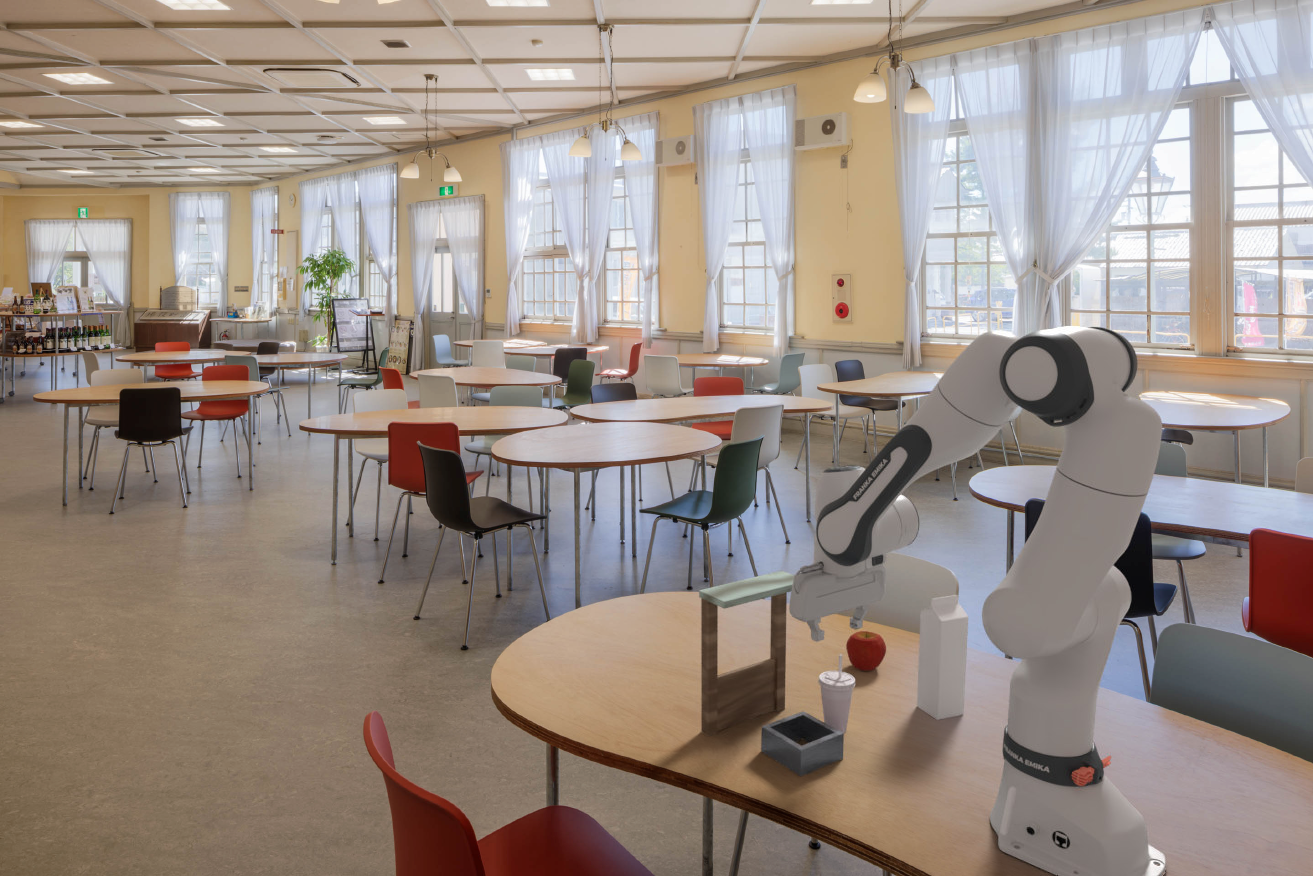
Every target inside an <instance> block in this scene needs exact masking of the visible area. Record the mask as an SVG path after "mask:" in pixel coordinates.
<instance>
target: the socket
mask: <svg viewBox="0 0 1313 876" xmlns="http://www.w3.org/2000/svg"><path fill="white" fill-rule="evenodd" d="M760 730H761V733H760V734H761V737H760V738H761V739H760V740H761V741H760V744H761V745H760V747H761V748H760V751H761V752H762V753H763V754H765V755H767V757H770V759H773V760H774V761H776V762H777V763H779V764H781V765H782V766H784V767H786V768H787V769H788V770H790V771H792V772H793V773H794V774H796V775H798V776H799V777H803V776H805V775H808V774H810V773H812V772H815V771H817V770H820V769H821V768H824V767H826V765H827V766H829V765H832V764H833V763H836V762H839V761H840V759H841V760H842V759H844V739H845V738H844V737H845V735H844V734H845V733H842V732H840V731H839V730H837V729H835V728H833V727H831V726H830V725H828V724H826V723H824V721H822V720H820V719H819V718H817V717H815V716H813V715H811V714H809V713H807V712H805V711H804V710H803V711H800V712H797V713H794V714H791V715H789V716H786V717H783V718H781V719H778V720H776V721H773V722H770V723H767V724H765V725H761V727H760ZM801 740H804V741H805V742H807V743H805V744H803V745H801V744H799V743H798V741H801Z"/></svg>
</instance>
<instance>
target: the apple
mask: <svg viewBox="0 0 1313 876" xmlns="http://www.w3.org/2000/svg"><path fill="white" fill-rule="evenodd" d="M845 647H846V649H845V650H846V653H847V655H848V656H847V657H848V659H849V662H850V664H851V665H852V667H854V669H857V670H859V671H861V672H862V671H863V672H870V671H873V670H875V669H876V668H878V667H879V666H880V665H881V663H882V662H883V660H884V658H885V656H886V653H887V646H886V643H885V640H884V638H883V637H882V635H880V634H878V633H875V632H874V631H873V632H872V631H867V630H860V631H856V632H855V633H853V634H852V635H850V636H849V638H848V640H847V641H846V645H845Z"/></svg>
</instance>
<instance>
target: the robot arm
mask: <svg viewBox="0 0 1313 876" xmlns="http://www.w3.org/2000/svg"><path fill="white" fill-rule="evenodd" d="M1136 353H1137V352H1136V351H1135V348H1134V347H1133V345H1132V344H1131V342H1130V341H1129V339H1127V338H1126V337H1125V336H1124V335H1122V334H1120V333H1118V332H1116V331H1114V330H1112V329H1109V328H1105V327H1100V326H1090V327H1084V326H1077V325H1067V326H1058V327H1054V328H1050V329H1039V330H1035V331H1032V332H1029V333H1027V334H1025V335H1024V336H1021V337H1019V336H1018V335H1015V334H1013V333H1011V332H1007V331H1003V330H991V331H989V330H988V331H986V332H983V333H982V334H980V335H979V336H977V337H976V338H975V339H974V340H973V341H971V343H970V344H968V345H967V347H965V348H964V350H962V351H961V353H960V354H959V355H958V356H957V357H956V358H955V360H954V361H952V363H951V364H950V365H949V367H948V368H947V369H946V370H945V372H944V373H943V374H942V376H941V377H940V379H939V380H938V381H937V384H935V386H934V387H933V388H932V390H931V392H930V393H929V394H928V396H927V397H926V398H925V400H924V401H923V402H922V403H921V405H920V406H919V407H918V409H917V410H916V411H915V412H914V413H913V414H912V416H911V417H910V418H909V419H908V420H907V421H906V422H905V424H904V425H903V426H902V427H901V428H900V429H899V431H898V432H897V433H895V434H894V436H893V437H892V438H891V439H890V440H889V441H888V442H886V444H885V446H883V448H882V449H881V450H880V451H879V452H878V454H877V455H876V456H874V458H873V460H872V461H871V462H870V463H869V464H868V466H867V467H866V468H865V467H863V466H861V465H851V464H850V465H843V466H835V467H829V468H826V469H824V470H823V471H822V472H821V473H820V476H819V478H818V480H817V483H816V492H815V501H814V503H815V504H814V518H815V522H816V525H815V534H814V538H813V563H812V564H810V565H803V566H800V568H799V570H798V571H797V572H796V573H795V574H794V575H795V576H794V581H793V584H792V590H791V592H790V596H789V597H790V598H789V605H788V606H789V608H788V610H789V614H790V616H791V617H792V618H794V619H796V620H797V621H800V622H803V623H806V624H807V626H808V628H809V629H810V639H811V640H812V641H814V642H817V643H818V642H820V641H824V640H825V630H823V629H821V628H820V626H819V624H821V623H822V620H821V619H822V618H825V617H828V616H832V615H834V614H835V615H836V614H838V613H842V612H844V611H849V610H852V609H854V613H853V615H852V616H851V617H849V628H851V629H853V630H855V631H856V630H859V629H863V624H864V623H863V621H864V619H865V616H866V614H867V612H868V611H869V605H870V604H874V603H877V602H879V601H882V600H883V598H884V596H885V594H886V588H887V587H886V585H887V570H886V566H885V564H886V563H887V559H888V557H887V555H888V553H891V552H894V551H897V550H900V549H903V548H905V547H908V546H910V545H911V544H913V542H915V540H916V539H917V536H918V534H919V530H920V516H919V512H918V510H917V508H916V506H915V505H914V503H913V501H912V500H911V499H910V498H909V497H907V496H906V495H904V494H903V493H904V492H905V491H906V489H907V488H908V487H909V486H910V485H912V484H913V483H914V482H915V481H917V480H918V479H920V478H921V477H923V476H926V475H927V474H929V473H932V472H933V471H936V470H938V469H940V468H943V467H945V466H948V465H951V464H954V463H957V462H959V461H962V460H964V459H967V458H969V457H971V456H973V455H975V454H976V453H978V452H979V451H980V450H982V449H983V448H984V447H985V446H986V445H987V444H988V443H989V442H990V441H992V440H993V439H994V437H996V435H997V434H999V432H1000V431H1001V430H1002V428H1003V426H1004V425H1005V424H1006V423H1007V422H1008V420H1009V419H1010V418H1011V416H1012V415H1013V413H1014V412H1015V411H1016V409H1018V407H1019V408H1022V409H1023V410H1025V411H1027V412H1029V413H1031V414H1033V415H1034V416H1036V417H1037V418H1039V419H1040V420H1041V421H1043V422H1044V423H1046V425H1048V426H1050V427H1053V428H1058V427H1059V428H1060V427H1063V428H1064V433H1065V434H1064V435H1065V437H1064V444H1063V447H1062V450H1061V454H1060V456H1059V458H1058V461H1057V465H1056V468H1055V471H1054V475H1053V476H1052V477H1053V478H1052V479H1051V483H1050V486H1049V490H1048V492H1047V496H1046V498H1045V501H1044V504H1043V507H1042V510H1041V513H1040V515H1039V517H1038V520H1037V522H1036V524H1035V526H1034V528H1033V530H1032V532H1031V533H1030V534H1029V537H1028V538H1027V540H1026V541H1025V543H1024V545H1023V546H1022V548H1021V550H1020V551H1019V553H1018V555H1017V557H1016V558H1015V560H1014V561H1013V564H1012V565H1011V567H1010V569H1009V570H1008V572H1007V573H1006V575H1005V576H1004V577H1003V579H1002V580H1001V582H999V584H998V585H997V586H996V587H995V589H994V590H992V591H991V593H990V594H989V595H988V596H986V598H985V601H984V602H983V605H982V610H981V620H982V626H983V629H984V631H985V634H986V636H987V637H988V639H989V640H990V642H991V644H993V646H994V647H996V649H998V650H999V651H1000V652H1001V653H1004V654H1005V655H1007V656H1009V657H1012V658H1014V659H1020V661H1019V663H1018V664H1017V666H1015V667H1016V668H1015V669H1014V670H1013V672H1012V675H1011V678H1010V682H1009V696H1008V698H1009V699H1008V713H1007V716H1008V717H1007V725H1006V726H1005V727H1004V731H1003V741H1002V757H1003V760H1004V761H1003V762H1004V763H1003V770H1002V773H1001V774H1002V776H1001V780H1000V784H999V789H998V792H997V796H996V799H995V802H994V804H993V807H992V809H991V811H990V813H989V821H990V825H991V827H992V829H993V830H994V831H995V833H996V835H997V837H998V838H997V845H998V848H999V850H1001V852H1004V853H1006V854H1008V855H1010V856H1012V857H1014V858H1017V859H1019V860H1021V861H1023V862H1026V863H1028V864H1030V865H1033V866H1035V867H1037V868H1039V869H1041V870H1043V871H1045V872H1049V873H1050V874H1053V875H1055V876H1057V875H1058V876H1162V875H1163V873H1164V872H1165V868H1166V869H1167V859H1166V856H1165V854H1164V853H1163V852H1162V851H1159V850H1158V849H1157V848H1155V847H1154V846H1152V845H1151V844H1149V836H1148V835H1149V834H1148V829H1147V825H1146V821H1145V819H1144V817H1143V815H1142V814H1141V813H1140V812H1139V811H1138V810H1137V809H1136V808H1135V806H1133V805H1132V804H1131V802H1130V801H1129V800H1128V799H1127V798H1126V797H1125V796H1124V794H1122V792H1121V791H1120V790H1119V789H1118V788H1117V787H1116V786H1115V785H1114V783H1112V781H1111V780H1110V779H1109V778H1108V777H1107V776H1106V775H1105V770H1104V769H1105V768H1107V767H1108V766H1110V765H1111V763H1112V761H1111V759H1112V756H1111V755H1109V756H1106V757H1105V758H1103V759H1101V757H1100V754H1099V752H1098V748H1097V746H1096V744H1095V742H1094V734H1095V722H1096V714H1097V713H1096V711H1097V701H1098V693H1099V689H1100V684H1101V681H1102V678H1103V675H1104V671H1105V669H1106V665H1107V662H1108V659H1109V657H1110V652H1111V650H1112V647H1113V644H1114V640H1115V636H1116V635H1117V634H1116V633H1117V630H1118V629H1119V627H1120V625H1121V623H1122V621H1123V620H1124V619H1123V618H1124V617H1125V616H1126V614H1127V613H1128V612H1129V609H1130V606H1131V603H1132V591H1131V587H1130V585H1129V582H1128V580H1127V578H1126V577H1125V575H1124V574H1123V573H1122V572H1121V570H1120V569H1118V568H1117V567H1116V566H1115V563H1117V561H1118V560H1119V558H1120V557H1121V556H1122V555H1123V554H1124V553H1125V551H1126V550H1127V549H1128V547H1129V546H1130V543H1131V540H1132V537H1133V535H1134V532H1135V529H1136V526H1137V523H1138V521H1139V518H1140V516H1141V513H1142V509H1143V507H1144V505H1145V501H1146V499H1147V497H1148V494H1149V491H1150V488H1151V485H1152V481H1153V480H1154V479H1153V478H1154V475H1155V472H1156V468H1157V463H1158V459H1159V455H1160V449H1161V444H1162V434H1163V421H1162V418H1161V416H1160V415H1159V413H1158V412H1157V411H1156V409H1155V408H1153V407H1152V406H1151V405H1150V404H1148V403H1147V402H1146V401H1144V400H1141V399H1139V398H1137V397H1134V396H1131V395H1128V394H1127V393H1125V392H1126V391H1127V390H1128V389H1129V388H1130V387H1131V386H1132V383H1133V382H1134V380H1135V378H1136V376H1137V371H1138V364H1139V363H1138V356H1137V354H1136ZM1155 864H1158V865H1160V866H1157V865H1155ZM1165 873H1166V872H1165Z"/></svg>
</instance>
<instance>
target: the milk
mask: <svg viewBox="0 0 1313 876" xmlns="http://www.w3.org/2000/svg"><path fill="white" fill-rule="evenodd" d="M919 618H920V619H919V643H918V644H919V647H918V666H917V667H918V668H917V669H918V670H917V671H918V672H917V694H916V695H917V697H916V707H918V709H920V710H922V711H923V712H925V713H926V714H928V715H929V716H931V717H932V718H934V719H935V720H936V721H939V720H944V719H949V718H954V717H957V716H958V717H959V716H962V715H964V714H965V713H964V710H965V693H966V691H965V690H966V673H967V657H968V656H967V654H968V634H969V631H968V629H969V615H968V614H967V613H966V611H965V610H964V609H963V607H962V606H961V604H960V603H959V595H958V594H953V595H948V596H940V597H934V598H931V601H930V606H928V607H926V608H923V609H921V610H920V617H919Z"/></svg>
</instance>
